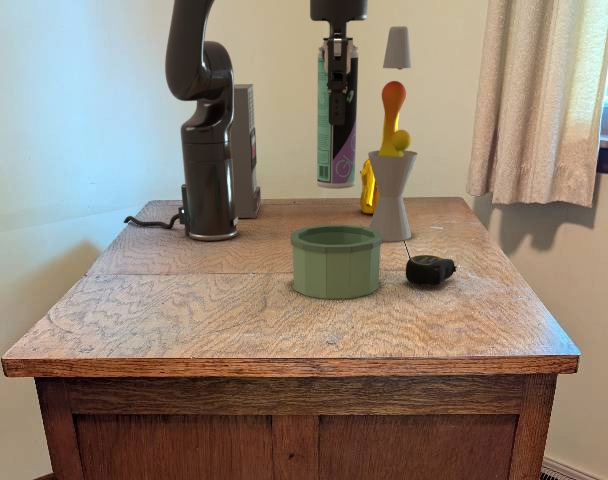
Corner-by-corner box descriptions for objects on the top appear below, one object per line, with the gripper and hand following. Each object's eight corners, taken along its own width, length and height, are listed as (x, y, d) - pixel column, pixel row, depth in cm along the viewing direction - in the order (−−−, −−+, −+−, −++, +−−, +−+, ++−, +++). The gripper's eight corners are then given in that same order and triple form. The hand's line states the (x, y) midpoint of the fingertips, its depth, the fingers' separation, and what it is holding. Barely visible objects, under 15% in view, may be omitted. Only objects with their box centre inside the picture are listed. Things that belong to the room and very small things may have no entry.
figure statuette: (359, 203, 166) (362, 98, 154) (393, 204, 165) (399, 97, 154) (357, 221, 150) (360, 105, 139) (395, 221, 150) (401, 105, 139)
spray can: (351, 189, 102) (356, 26, 92) (313, 188, 103) (314, 26, 93) (356, 182, 107) (361, 26, 97) (320, 181, 108) (321, 26, 98)
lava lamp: (359, 239, 137) (365, 26, 119) (373, 228, 144) (381, 26, 127) (405, 243, 134) (418, 26, 116) (417, 232, 142) (431, 26, 124)
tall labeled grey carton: (257, 219, 153) (251, 88, 141) (228, 219, 154) (220, 88, 141) (261, 205, 165) (256, 84, 153) (235, 205, 165) (228, 84, 153)
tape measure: (437, 292, 109) (439, 268, 107) (397, 285, 112) (398, 261, 110) (455, 281, 114) (457, 257, 112) (416, 274, 117) (417, 251, 115)
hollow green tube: (275, 291, 110) (273, 240, 106) (317, 268, 121) (317, 221, 117) (356, 304, 104) (358, 251, 100) (393, 279, 115) (395, 230, 111)
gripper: (312, -19, 98) (312, 116, 107) (307, -26, 86) (307, 128, 95) (367, -20, 98) (362, 116, 107) (369, -27, 86) (364, 128, 94)
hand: (336, 121), depth 101 cm, fingers closed on spray can, 5 cm apart
